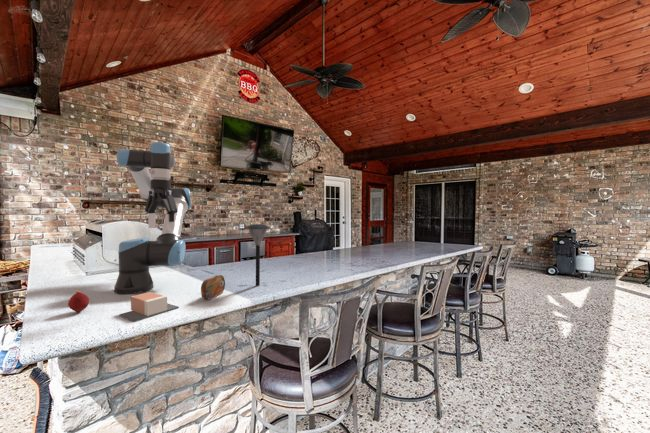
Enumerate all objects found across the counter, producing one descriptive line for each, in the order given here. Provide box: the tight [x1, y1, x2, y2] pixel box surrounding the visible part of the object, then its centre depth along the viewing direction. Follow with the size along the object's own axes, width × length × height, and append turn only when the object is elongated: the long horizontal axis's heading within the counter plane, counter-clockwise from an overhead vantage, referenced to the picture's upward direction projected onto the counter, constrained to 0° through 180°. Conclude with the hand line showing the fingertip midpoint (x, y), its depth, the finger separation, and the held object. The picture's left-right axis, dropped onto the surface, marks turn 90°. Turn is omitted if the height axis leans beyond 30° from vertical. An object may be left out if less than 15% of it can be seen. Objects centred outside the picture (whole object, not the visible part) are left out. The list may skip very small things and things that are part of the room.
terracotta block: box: [130, 291, 168, 316], centre depth 110 cm, size 5×7×11 cm
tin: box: [200, 274, 226, 300], centre depth 129 cm, size 15×3×8 cm, turn 168°
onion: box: [68, 290, 90, 314], centre depth 108 cm, size 6×6×8 cm
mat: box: [118, 302, 180, 322], centre depth 110 cm, size 10×16×1 cm, turn 149°
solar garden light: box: [244, 223, 271, 287], centre depth 147 cm, size 12×12×30 cm
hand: (160, 229), depth 129 cm, fingers open, 13 cm apart
